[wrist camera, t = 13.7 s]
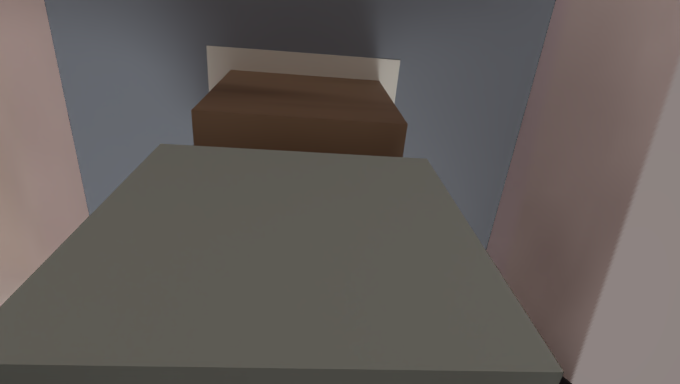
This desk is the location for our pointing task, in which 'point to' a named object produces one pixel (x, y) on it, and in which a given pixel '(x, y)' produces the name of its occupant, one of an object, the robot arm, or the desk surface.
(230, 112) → the walnut block
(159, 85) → the blueprint board
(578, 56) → the desk surface
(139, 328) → the sage block
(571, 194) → the desk surface
